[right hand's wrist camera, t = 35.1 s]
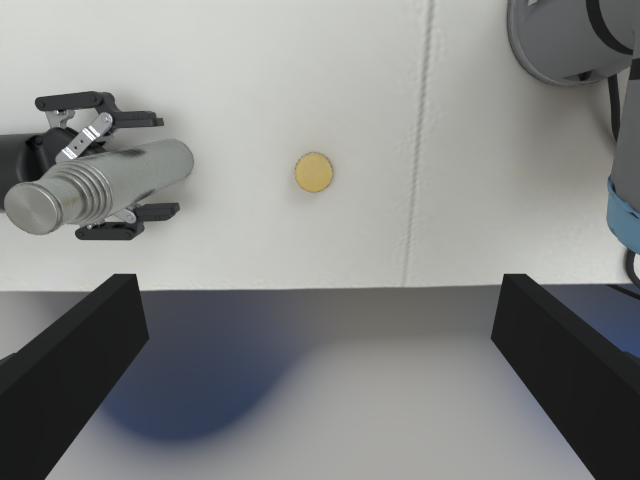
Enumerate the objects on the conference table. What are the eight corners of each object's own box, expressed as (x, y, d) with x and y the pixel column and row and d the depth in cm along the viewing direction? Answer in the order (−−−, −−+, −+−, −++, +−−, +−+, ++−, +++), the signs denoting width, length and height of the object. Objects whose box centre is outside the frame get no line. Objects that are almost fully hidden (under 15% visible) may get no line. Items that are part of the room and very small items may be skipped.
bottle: (147, 144, 40) (-28, 180, 20) (185, 135, 39) (48, 162, 19) (162, 182, 41) (14, 253, 21) (198, 174, 41) (84, 238, 21)
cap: (299, 191, 42) (298, 195, 40) (292, 155, 40) (291, 157, 39) (334, 185, 42) (335, 189, 40) (328, 148, 40) (329, 150, 38)
